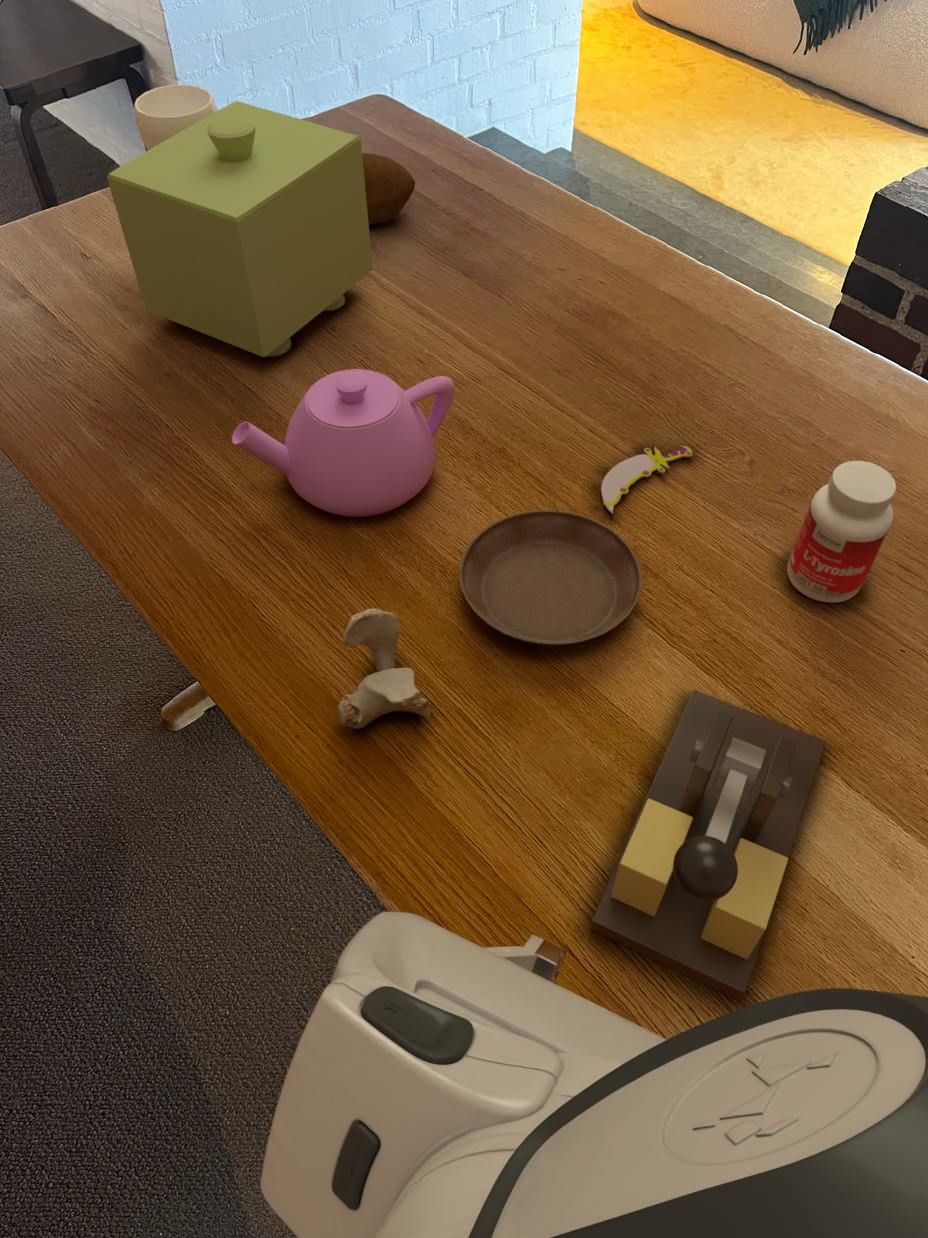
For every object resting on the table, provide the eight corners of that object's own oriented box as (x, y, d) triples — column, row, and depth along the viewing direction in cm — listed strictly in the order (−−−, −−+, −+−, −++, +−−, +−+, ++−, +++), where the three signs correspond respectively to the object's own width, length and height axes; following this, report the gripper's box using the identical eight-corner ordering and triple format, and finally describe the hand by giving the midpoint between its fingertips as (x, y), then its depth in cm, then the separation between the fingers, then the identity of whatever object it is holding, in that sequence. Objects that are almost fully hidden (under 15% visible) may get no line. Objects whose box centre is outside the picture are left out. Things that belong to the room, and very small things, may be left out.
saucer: (462, 528, 85) (462, 506, 83) (630, 531, 84) (634, 509, 82) (456, 662, 75) (456, 641, 73) (644, 666, 75) (649, 645, 73)
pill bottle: (779, 593, 80) (816, 496, 71) (792, 543, 83) (828, 445, 75) (856, 614, 78) (903, 517, 70) (865, 562, 82) (911, 464, 73)
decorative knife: (577, 486, 88) (612, 516, 85) (577, 482, 88) (613, 512, 85) (670, 437, 92) (707, 464, 89) (671, 433, 92) (708, 460, 89)
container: (268, 377, 99) (230, 187, 83) (151, 329, 104) (95, 143, 89) (374, 289, 109) (358, 105, 93) (263, 249, 114) (230, 69, 99)
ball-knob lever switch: (720, 923, 47) (741, 873, 46) (658, 896, 48) (678, 845, 47) (759, 790, 60) (777, 747, 59) (710, 770, 61) (727, 727, 60)
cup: (181, 218, 119) (147, 80, 107) (252, 222, 118) (226, 84, 106) (157, 256, 114) (118, 116, 101) (230, 262, 113) (200, 120, 100)
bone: (414, 767, 68) (341, 664, 63) (349, 765, 72) (276, 668, 67) (465, 682, 73) (402, 581, 68) (402, 685, 77) (338, 590, 72)
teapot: (234, 453, 91) (210, 359, 83) (433, 409, 95) (429, 315, 87) (262, 553, 83) (238, 459, 75) (479, 500, 87) (480, 405, 79)
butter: (769, 891, 62) (789, 857, 58) (746, 960, 59) (765, 929, 55) (637, 833, 64) (648, 797, 61) (610, 897, 62) (619, 863, 58)
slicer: (739, 1001, 59) (783, 936, 51) (589, 929, 62) (607, 856, 54) (820, 751, 70) (867, 663, 62) (689, 700, 73) (717, 610, 65)
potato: (309, 213, 120) (300, 151, 114) (401, 193, 123) (398, 131, 117) (330, 245, 115) (322, 181, 109) (425, 223, 118) (423, 160, 112)
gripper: (1094, 1406, 20) (977, 1076, 33) (273, 960, 26) (449, 831, 39) (974, 1641, 21) (906, 1230, 34) (209, 1159, 27) (402, 968, 40)
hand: (657, 1014), depth 36 cm, fingers open, 8 cm apart
